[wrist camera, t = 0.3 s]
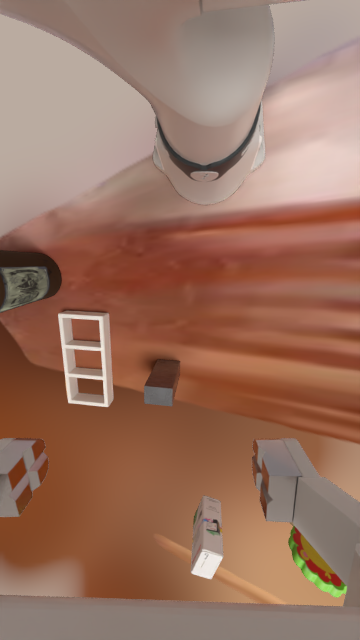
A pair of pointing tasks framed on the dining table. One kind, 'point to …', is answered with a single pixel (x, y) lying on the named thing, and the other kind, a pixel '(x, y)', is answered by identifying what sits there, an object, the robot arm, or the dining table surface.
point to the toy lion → (314, 565)
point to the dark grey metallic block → (162, 383)
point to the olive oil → (26, 278)
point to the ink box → (207, 538)
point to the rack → (70, 345)
